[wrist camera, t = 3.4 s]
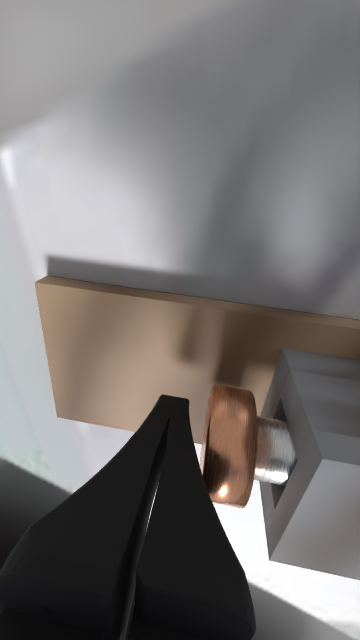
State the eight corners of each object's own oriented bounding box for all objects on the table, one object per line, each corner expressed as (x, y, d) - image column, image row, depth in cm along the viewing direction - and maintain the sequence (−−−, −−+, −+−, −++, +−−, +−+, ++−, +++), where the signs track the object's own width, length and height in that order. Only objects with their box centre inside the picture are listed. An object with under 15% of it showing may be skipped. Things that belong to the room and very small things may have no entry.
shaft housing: (468, 335, 12) (711, 483, 6) (380, 463, 16) (472, 625, 10) (46, 276, 14) (-89, 346, 8) (65, 405, 18) (-14, 515, 12)
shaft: (403, 394, 11) (495, 501, 8) (361, 460, 13) (417, 571, 10) (215, 364, 12) (211, 448, 8) (202, 430, 14) (194, 523, 10)
